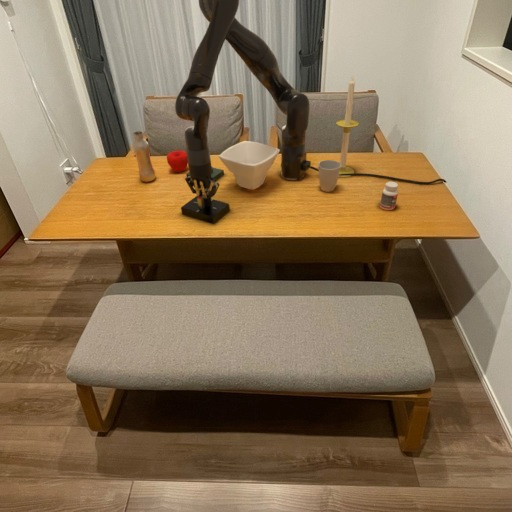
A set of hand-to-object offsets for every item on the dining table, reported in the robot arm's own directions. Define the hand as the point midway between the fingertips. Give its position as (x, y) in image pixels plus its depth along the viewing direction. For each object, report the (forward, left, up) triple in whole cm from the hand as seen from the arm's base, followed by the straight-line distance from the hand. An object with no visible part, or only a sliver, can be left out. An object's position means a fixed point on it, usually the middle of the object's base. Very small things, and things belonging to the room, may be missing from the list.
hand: (205, 205), depth 137 cm
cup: (-32, -36, -3) cm, 48 cm away
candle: (-32, -52, -3) cm, 61 cm away
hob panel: (0, 0, -3) cm, 3 cm away
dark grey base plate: (+17, -23, -3) cm, 29 cm away
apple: (+31, -23, -3) cm, 39 cm away
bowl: (-4, -25, -3) cm, 25 cm away
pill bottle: (-56, -33, -3) cm, 65 cm away
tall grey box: (0, 0, 0) cm, 0 cm away
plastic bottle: (+37, -10, -3) cm, 38 cm away
